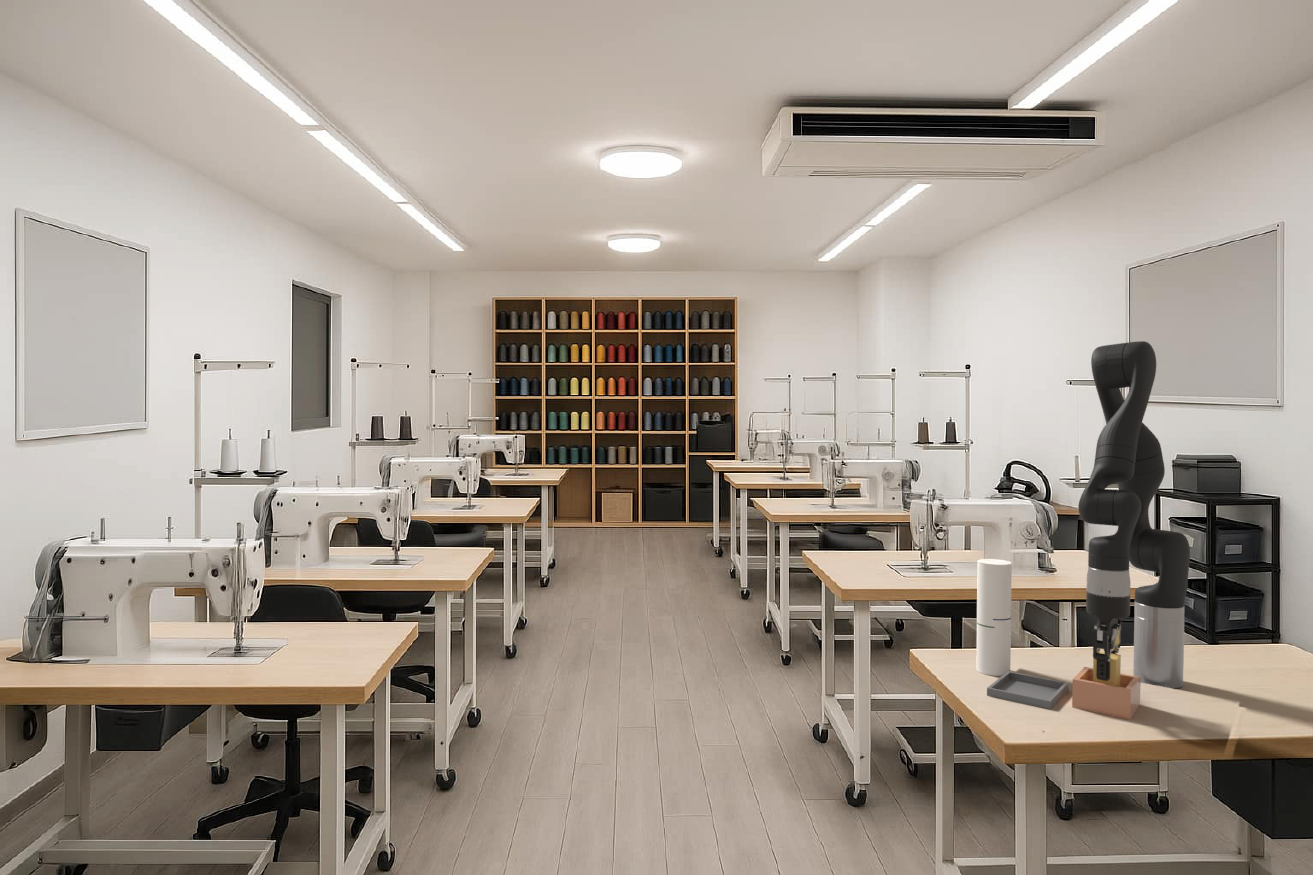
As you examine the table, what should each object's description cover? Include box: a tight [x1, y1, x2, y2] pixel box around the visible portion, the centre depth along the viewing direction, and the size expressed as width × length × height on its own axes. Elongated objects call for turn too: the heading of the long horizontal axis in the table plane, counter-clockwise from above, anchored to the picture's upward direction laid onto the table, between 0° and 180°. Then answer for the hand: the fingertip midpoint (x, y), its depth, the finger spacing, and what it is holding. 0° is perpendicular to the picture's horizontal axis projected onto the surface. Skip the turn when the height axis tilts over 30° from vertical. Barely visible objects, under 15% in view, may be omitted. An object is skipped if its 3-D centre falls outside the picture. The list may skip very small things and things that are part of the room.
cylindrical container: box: [975, 558, 1013, 677], centre depth 183 cm, size 7×7×25 cm
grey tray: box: [986, 670, 1069, 710], centre depth 166 cm, size 14×12×2 cm
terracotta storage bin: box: [1071, 666, 1142, 720], centre depth 159 cm, size 10×10×6 cm
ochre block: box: [1092, 651, 1122, 687], centre depth 159 cm, size 4×4×10 cm
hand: (1106, 675), depth 159 cm, fingers open, 6 cm apart
